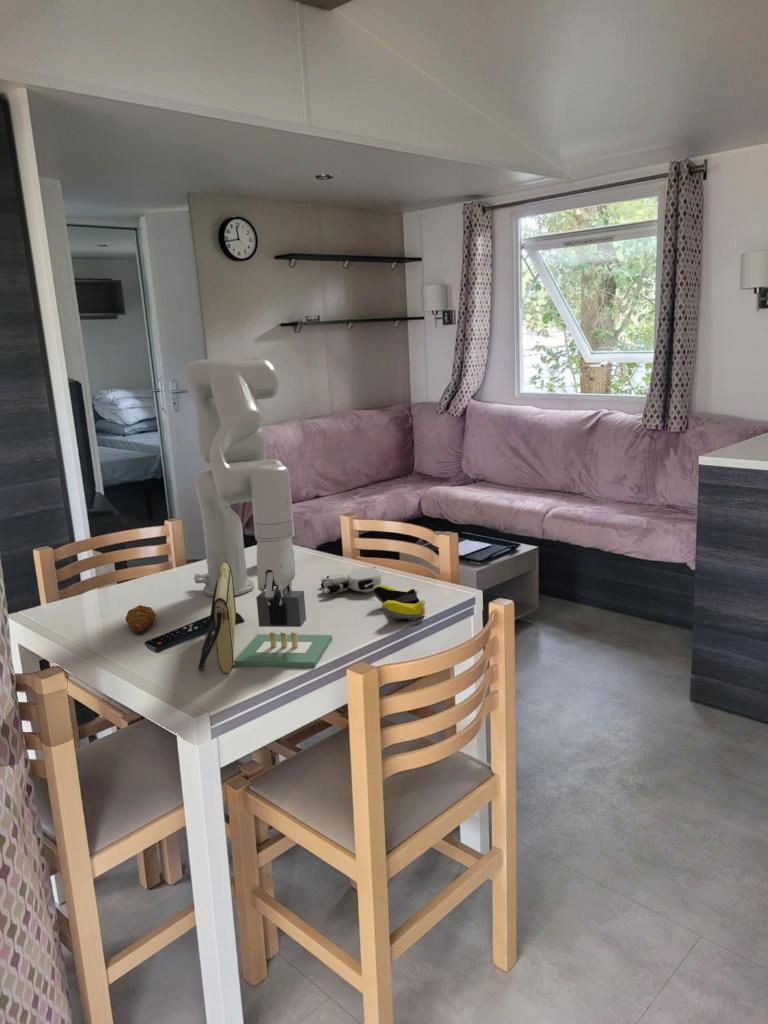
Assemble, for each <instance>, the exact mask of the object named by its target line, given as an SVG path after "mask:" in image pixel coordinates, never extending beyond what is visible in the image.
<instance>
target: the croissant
mask: <svg viewBox="0 0 768 1024" xmlns="http://www.w3.org/2000/svg"><path fill="white" fill-rule="evenodd" d="M157 615H158V614H156V613H155V610H154V609H153V608H152V607H150V606H145V605H139V604H138V605H137V606H135V607H134V608H131V609H129V610H128V611H127V613H126V616H125V619H124V620H125V622H126V624H128V627H129V628H130V630H132V632H133V633H134V634H135V635H141V634H145V633H146V632H147V631H148V630H149V629H150V627H151V626H152V625H153V624H154V622H155V620H156V618H157Z"/></svg>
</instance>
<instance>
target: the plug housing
mask: <svg viewBox="0 0 768 1024" xmlns="http://www.w3.org/2000/svg"><path fill="white" fill-rule="evenodd" d="M274 589H277V588H276V587H274ZM274 594H275V595H277V596H278V597H279V593H274ZM283 604H285V606H286V618H287V623H286V625H271V624H270V615H269V606H268V600H267V599H266V598H265V590H264V591H260V593H259V594H258V595H257V596H256V605H257V607H256V608H257V617H258V627H259V628H260V627H263V628H264V627H267V628H269V627H270V628H272V627H275V628H289V627H290V628H300V627H302V626H303V625H304V624H305V622H306V620H307V615H306V614H307V613H306V612H307V610H306V600H305V592H304V590H292V591H288V590H287V588H285V589H283Z"/></svg>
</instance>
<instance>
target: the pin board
mask: <svg viewBox="0 0 768 1024" xmlns="http://www.w3.org/2000/svg"><path fill="white" fill-rule="evenodd" d="M276 633H277V632H276V631H270V632H269V634H267V633H266V634H264V633H263V634H261V633H257V634H256V635H255V637H254V638H253V639H252V640H251V641H250V642H249V643H248V644H247V646H246V647H244V649H242V651H241V652H240V653H239V654H238V655H237V657H235V659H233V667H271V668H272V667H274V668H275V667H276V668H277V667H278V668H279V667H281V668H282V667H283V668H316V666H318V663H319V662H320V660H321V658H322V657H323V655H324V654H325V652H326V651H325V650H327V649H328V647H329V646H330V644H331V643H330V642H332V641H333V635H332V634H298V632H297V631H292V632H290V634H287V631H281V632H280V633H279V634H276ZM331 640H332V641H331ZM329 643H330V644H329ZM328 645H329V646H328ZM323 653H324V654H323Z"/></svg>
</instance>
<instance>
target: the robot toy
mask: <svg viewBox="0 0 768 1024" xmlns="http://www.w3.org/2000/svg"><path fill="white" fill-rule="evenodd" d="M320 581H321V584H320V587H321V588H322V590H321V592H322V593H324V594H329V595H331V594H336V593H337V594H340V593H342V592H346V591H348V589H349V588H350V589H351V590H353V591H355V592H361V593H365V594H367V593H370V592H372V591H373V590H374V587H375V586H377V585H382V584H381V583H382V574H381V572H380V571H379V570H378V569H377V566H376V565H375V566H373V567H364V568H363V567H362V568H357V569H353V570H351V571H350V572H349V573H348V574H346V573H338V574H337V573H336V574H331V575H327V576H326V577H323V578H321V579H320Z"/></svg>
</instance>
